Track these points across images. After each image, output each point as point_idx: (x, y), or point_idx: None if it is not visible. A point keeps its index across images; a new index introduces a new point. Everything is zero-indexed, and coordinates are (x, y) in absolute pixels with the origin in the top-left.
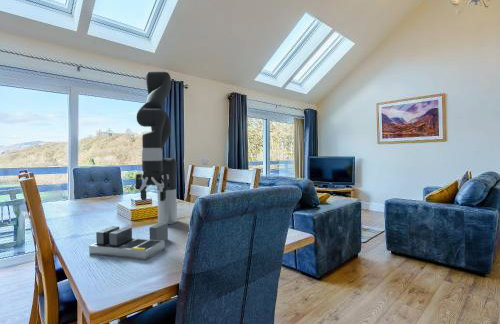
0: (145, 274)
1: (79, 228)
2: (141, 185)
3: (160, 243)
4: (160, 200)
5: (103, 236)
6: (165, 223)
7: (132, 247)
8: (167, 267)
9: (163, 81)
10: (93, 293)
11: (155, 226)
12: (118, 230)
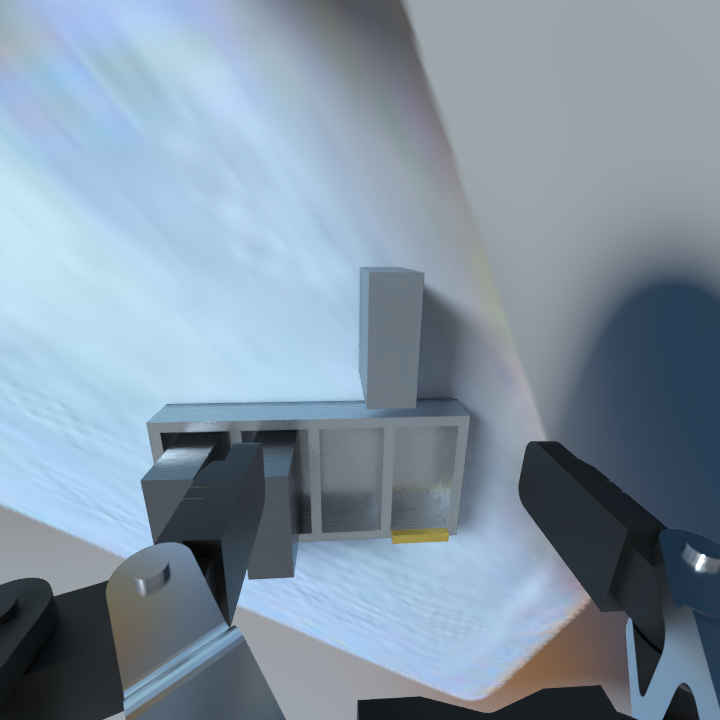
0: (495, 577)
1: None
2: (9, 696)
3: (465, 446)
4: (525, 503)
5: None
6: (420, 298)
7: (321, 445)
8: (539, 528)
9: None
10: (427, 668)
11: (393, 383)
12: (256, 536)
